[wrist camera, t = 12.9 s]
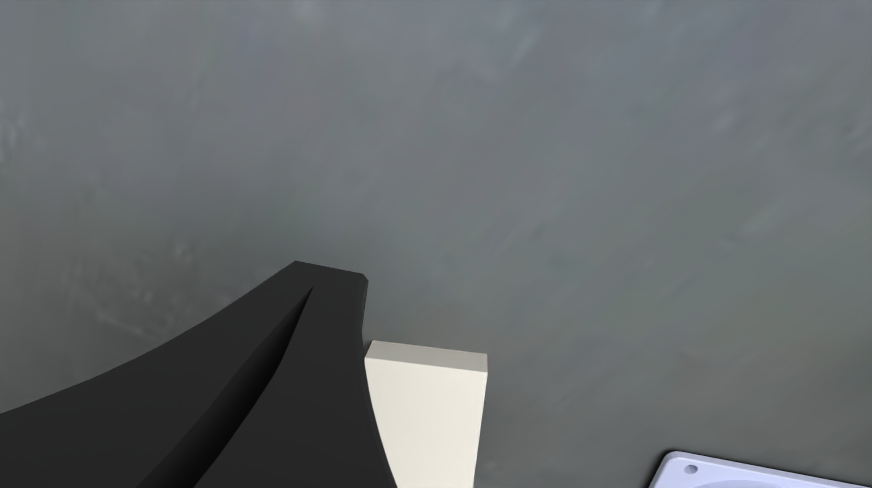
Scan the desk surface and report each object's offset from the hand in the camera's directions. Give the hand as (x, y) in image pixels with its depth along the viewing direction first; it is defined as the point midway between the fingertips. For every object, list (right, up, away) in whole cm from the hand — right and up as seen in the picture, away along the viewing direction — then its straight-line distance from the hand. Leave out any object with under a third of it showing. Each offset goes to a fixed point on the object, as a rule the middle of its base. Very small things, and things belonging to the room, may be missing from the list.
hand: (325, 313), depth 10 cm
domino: (+2, -3, +11) cm, 11 cm away
